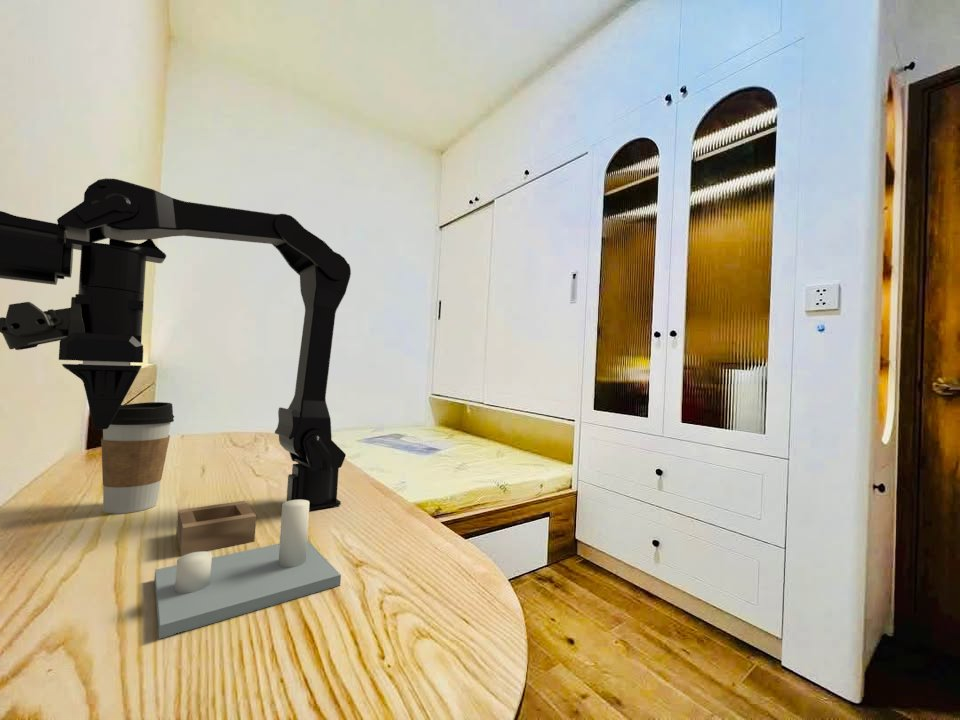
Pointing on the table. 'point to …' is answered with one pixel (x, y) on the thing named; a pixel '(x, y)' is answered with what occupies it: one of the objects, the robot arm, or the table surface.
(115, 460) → the coffee cup
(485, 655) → the table surface
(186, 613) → the post board
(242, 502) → the walnut ring
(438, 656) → the table surface
